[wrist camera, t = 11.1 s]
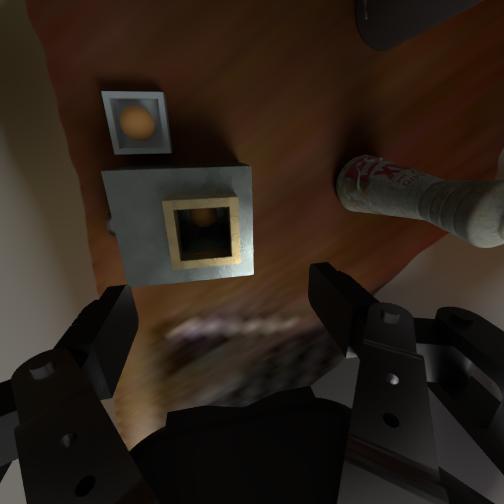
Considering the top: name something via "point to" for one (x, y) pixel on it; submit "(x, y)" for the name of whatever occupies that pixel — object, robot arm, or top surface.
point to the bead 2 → (203, 216)
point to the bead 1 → (137, 123)
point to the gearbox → (181, 221)
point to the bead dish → (154, 105)
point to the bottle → (425, 198)
